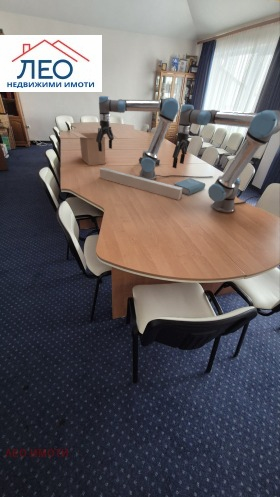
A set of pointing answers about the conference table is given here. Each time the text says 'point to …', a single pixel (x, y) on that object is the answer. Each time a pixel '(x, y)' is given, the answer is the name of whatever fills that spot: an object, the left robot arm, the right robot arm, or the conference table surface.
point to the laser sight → (155, 164)
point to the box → (91, 147)
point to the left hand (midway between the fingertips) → (105, 149)
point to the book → (190, 186)
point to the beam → (141, 183)
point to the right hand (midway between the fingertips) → (178, 165)
